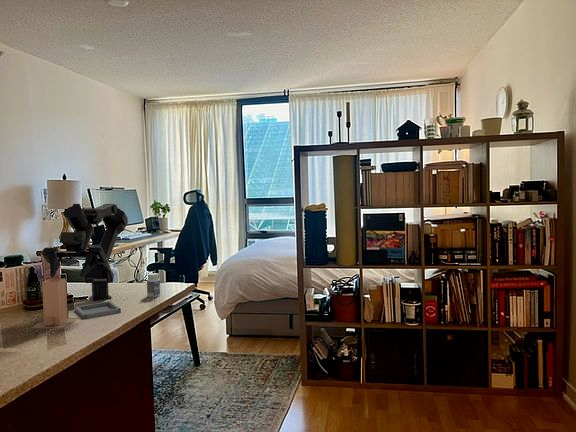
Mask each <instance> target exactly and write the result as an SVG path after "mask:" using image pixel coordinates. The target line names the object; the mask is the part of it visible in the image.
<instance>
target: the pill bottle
mask: <svg viewBox="0 0 576 432" xmlns="http://www.w3.org/2000/svg"><path fill="white" fill-rule="evenodd" d="M159 276H160V273H158V272H157V273H156V272H154V273H153V272H151V273H147V279H146V292H147V297H149V298H156V297H159V296H161V279H160V277H159Z"/></svg>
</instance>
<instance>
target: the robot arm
mask: <svg viewBox="0 0 576 432" xmlns="http://www.w3.org/2000/svg"><path fill="white" fill-rule="evenodd" d="M62 214H63V217H64V218H65V220H66V222H67V224H68V225H69V227H70V229H73V231H64V232H63V231H62V232H61V233H60V236H59V241H58V242H59V243H60V244H62V245H63V246H62V248H63V249H64V250H59V249H58V247H51V246H50V247H44V248H43V249H42V251H41V253H40V254H41V255H42V257H43V258H44V260H45V261H46V262H47V264H49V271H50V272H49V273H50V274H49V276H50V279H54V277H55V276H56V275H57V272H58V270H59V269H60V266H61V262H62V260H63V259H64V258H67V259H68V258H71V259H72V258H73V259H85V260H84V263H83V265H82V268H81V271H80V274H79V275H80V278H83V277H84V281H85V284H91V295H90V296H89V299H90V300H91V301H93V302H95V301H96V302H97V301H102V300H109V299H112V296H111V295H109V294H110V293H109V284H110V283H113V282H114V279H115V278H114V277H115V275H114V272H113V271H112V269H111V265H110V263H109V262H110V261H109V260H110V258H111V255H112V253H113V249H114V247H115V244H116V241H117V238H118V236H119V234H121V233H122V232H124V231H125V229H126V227H127V225H128V224H129V220H128V216H127V214H126V213H125V211H123V210H122V209H121V208H119V207H118V205H117V204H115V203H104V204H102V205H100V206H97V207H94V208H82V206H81V204H80V203H73V205H72V206H69V207H67V208H66V209H65V210H63V213H62ZM101 222H103V224H104V227H105V232H104V234H103V236H102V239H101V241H100V244H99V246H91V244H90V241H91V238H92V236H93V237H94V236H95V235H96V234H95V231H94V229H95V227H94V225H95V226H96V225H97V226H98V225H99V224H101Z"/></svg>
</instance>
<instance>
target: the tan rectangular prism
mask: <svg viewBox="0 0 576 432" xmlns="http://www.w3.org/2000/svg"><path fill="white" fill-rule="evenodd" d="M41 287H42V288H41V289H42V306H43V307H42V309H43V321H44V325H61V324H62V323H64V322H66V321H67V320H68V319H67V318H68V302H67V301H68V300H67V278H49V279H47V280H44V281H42V282H41Z"/></svg>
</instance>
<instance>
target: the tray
mask: <svg viewBox="0 0 576 432" xmlns="http://www.w3.org/2000/svg"><path fill="white" fill-rule="evenodd" d="M75 312H76V313H77V314H79V316H81V318H82V319H83V320H85V319H92V318H97V317H102V316H108V315H114V314H120V313H122V312H121V307H119V306H117V305H116V304H115V303H114V302H112V301H103V302H98V303H91V304H84V305H80V306H79V305H78V306H75Z"/></svg>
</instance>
